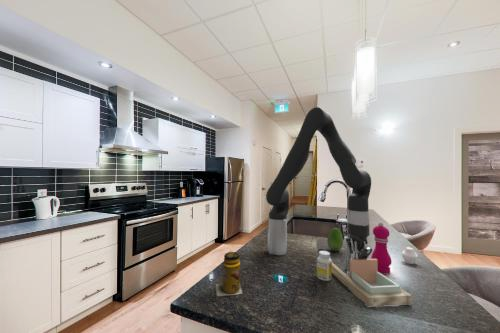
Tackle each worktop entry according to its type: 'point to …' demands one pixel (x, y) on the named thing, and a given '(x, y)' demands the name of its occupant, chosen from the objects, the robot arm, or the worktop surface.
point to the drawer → (371, 277)
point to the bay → (371, 299)
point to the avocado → (335, 239)
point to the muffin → (409, 255)
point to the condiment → (230, 276)
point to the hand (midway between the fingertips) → (358, 267)
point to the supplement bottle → (324, 266)
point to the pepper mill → (381, 248)
